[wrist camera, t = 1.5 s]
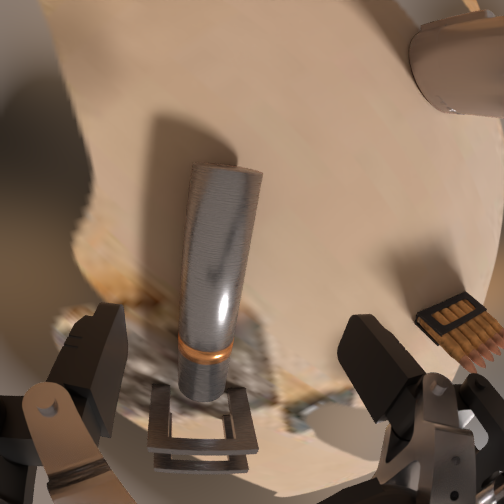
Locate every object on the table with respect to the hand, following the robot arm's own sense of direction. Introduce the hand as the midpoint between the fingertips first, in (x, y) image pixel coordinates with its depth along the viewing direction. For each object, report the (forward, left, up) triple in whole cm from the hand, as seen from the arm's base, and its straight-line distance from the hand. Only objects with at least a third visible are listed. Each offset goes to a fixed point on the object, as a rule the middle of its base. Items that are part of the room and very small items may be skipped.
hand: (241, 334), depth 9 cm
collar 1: (+20, 0, -13) cm, 24 cm away
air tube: (+6, 0, -13) cm, 14 cm away
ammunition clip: (+8, +31, -13) cm, 34 cm away
